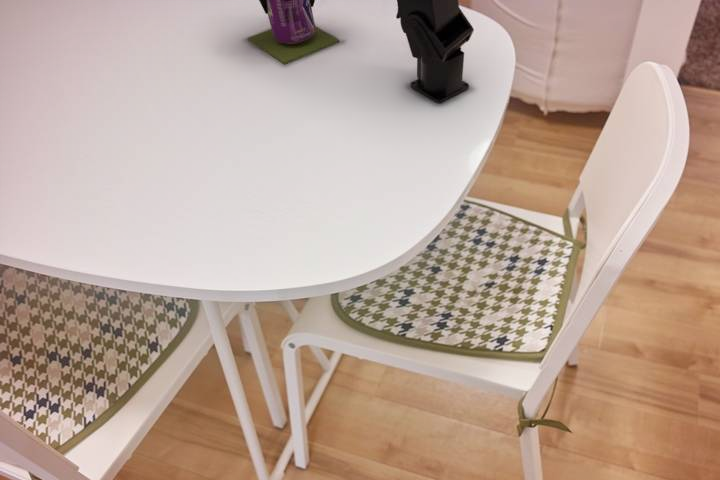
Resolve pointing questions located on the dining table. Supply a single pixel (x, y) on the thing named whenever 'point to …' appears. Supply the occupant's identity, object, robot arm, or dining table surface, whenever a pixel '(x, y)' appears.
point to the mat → (292, 45)
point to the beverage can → (291, 20)
